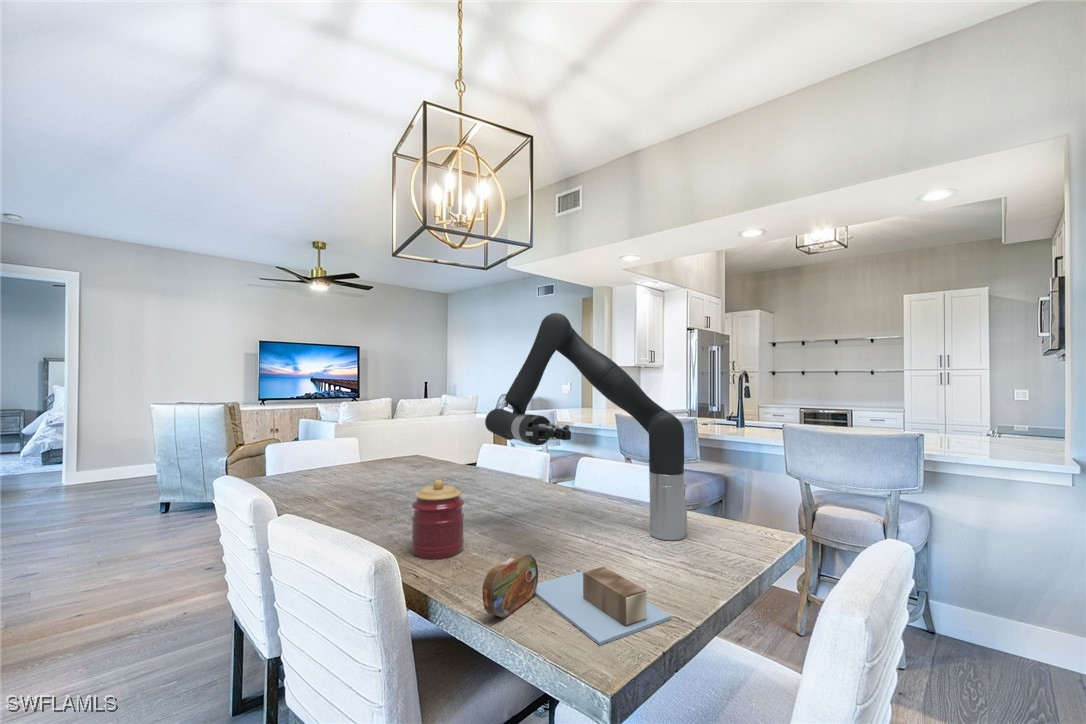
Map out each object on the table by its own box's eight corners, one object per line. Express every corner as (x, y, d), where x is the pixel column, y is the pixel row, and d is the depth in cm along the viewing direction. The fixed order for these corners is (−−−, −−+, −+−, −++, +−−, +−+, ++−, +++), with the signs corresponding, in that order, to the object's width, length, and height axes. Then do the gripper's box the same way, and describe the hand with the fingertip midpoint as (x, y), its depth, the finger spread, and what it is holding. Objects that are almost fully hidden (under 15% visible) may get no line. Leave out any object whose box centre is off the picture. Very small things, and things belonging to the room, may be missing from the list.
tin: (494, 625, 81) (492, 575, 81) (479, 621, 82) (478, 572, 83) (540, 592, 93) (538, 549, 94) (527, 589, 95) (525, 547, 96)
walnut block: (603, 566, 92) (647, 590, 82) (603, 592, 92) (647, 619, 82) (583, 572, 90) (625, 597, 79) (583, 598, 90) (625, 627, 79)
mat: (590, 572, 103) (590, 569, 103) (671, 619, 83) (671, 615, 83) (527, 588, 95) (527, 585, 95) (599, 645, 75) (599, 641, 75)
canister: (440, 563, 109) (440, 487, 109) (399, 553, 115) (400, 481, 116) (474, 546, 120) (474, 477, 121) (436, 538, 126) (436, 472, 127)
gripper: (508, 415, 118) (543, 420, 103) (552, 413, 125) (591, 417, 110) (508, 445, 118) (543, 454, 103) (552, 441, 125) (591, 449, 110)
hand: (568, 435), depth 107 cm, fingers closed
